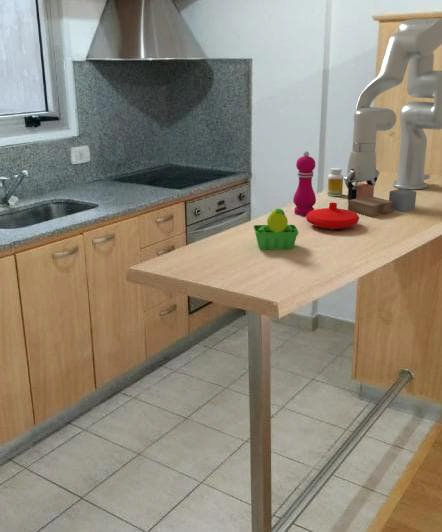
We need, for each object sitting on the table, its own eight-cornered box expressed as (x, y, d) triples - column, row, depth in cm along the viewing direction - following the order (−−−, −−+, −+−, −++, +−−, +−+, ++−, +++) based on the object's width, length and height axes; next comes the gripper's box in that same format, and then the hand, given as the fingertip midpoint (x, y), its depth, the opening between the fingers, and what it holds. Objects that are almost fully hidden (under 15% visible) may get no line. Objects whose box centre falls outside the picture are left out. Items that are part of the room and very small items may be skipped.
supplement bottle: (343, 196, 216) (344, 169, 213) (328, 196, 216) (329, 170, 213) (340, 193, 221) (342, 167, 218) (326, 193, 221) (327, 167, 218)
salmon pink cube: (359, 199, 212) (360, 182, 210) (372, 202, 208) (374, 185, 206) (347, 202, 209) (348, 185, 207) (361, 205, 204) (362, 187, 202)
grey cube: (399, 206, 202) (401, 188, 200) (414, 209, 198) (416, 191, 196) (388, 208, 199) (389, 191, 197) (403, 212, 195) (404, 194, 193)
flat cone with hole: (365, 223, 183) (367, 200, 180) (348, 236, 170) (349, 212, 167) (317, 217, 190) (318, 195, 188) (297, 229, 177) (297, 206, 175)
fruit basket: (294, 241, 165) (295, 201, 162) (299, 251, 157) (300, 210, 153) (252, 242, 165) (253, 202, 161) (255, 252, 157) (256, 210, 153)
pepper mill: (289, 214, 193) (291, 152, 186) (297, 209, 199) (299, 149, 192) (310, 217, 190) (313, 153, 183) (318, 212, 196) (321, 150, 189)
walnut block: (369, 207, 202) (369, 195, 201) (392, 213, 194) (393, 201, 193) (347, 212, 197) (348, 200, 195) (370, 218, 189) (371, 206, 188)
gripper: (372, 144, 210) (368, 193, 215) (337, 148, 200) (334, 200, 206) (389, 146, 204) (385, 196, 210) (355, 151, 194) (351, 204, 200)
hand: (360, 198), depth 208 cm, fingers open, 8 cm apart
